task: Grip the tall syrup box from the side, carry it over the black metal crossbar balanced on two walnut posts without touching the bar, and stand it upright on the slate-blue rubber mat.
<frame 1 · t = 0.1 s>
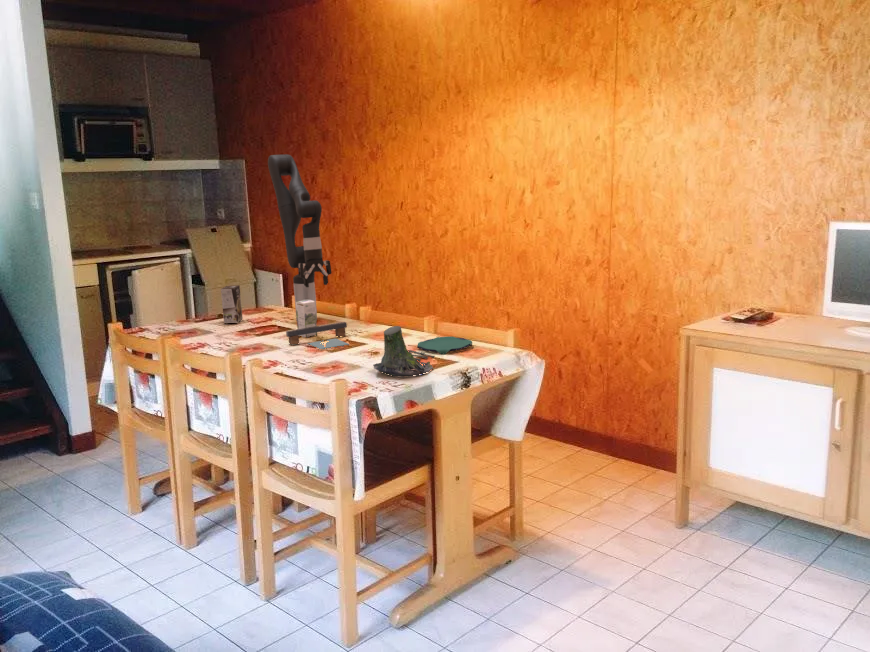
hand: (316, 286, 323), 17 cm above the table, tool pointing down, fingers open, 8 cm apart
slate mat: (328, 344, 291), on the table
teal irregular flat slab: (434, 351, 277), on the table
crossbar: (317, 331, 299), point 3 cm above the table, touching bar stand
tree stump: (404, 371, 251), on the table
bar stand: (317, 340, 300), on the table
coffee box: (233, 322, 341), on the table
syrup box: (307, 336, 308), on the table
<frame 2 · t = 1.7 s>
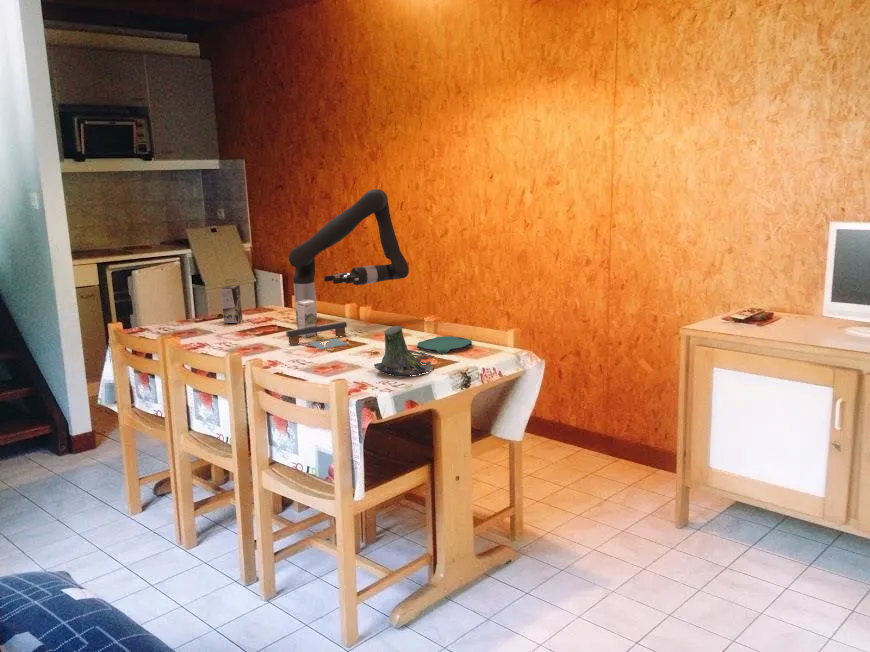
hand: (328, 280, 309), 22 cm above the table, tool horizontal, fingers open, 8 cm apart
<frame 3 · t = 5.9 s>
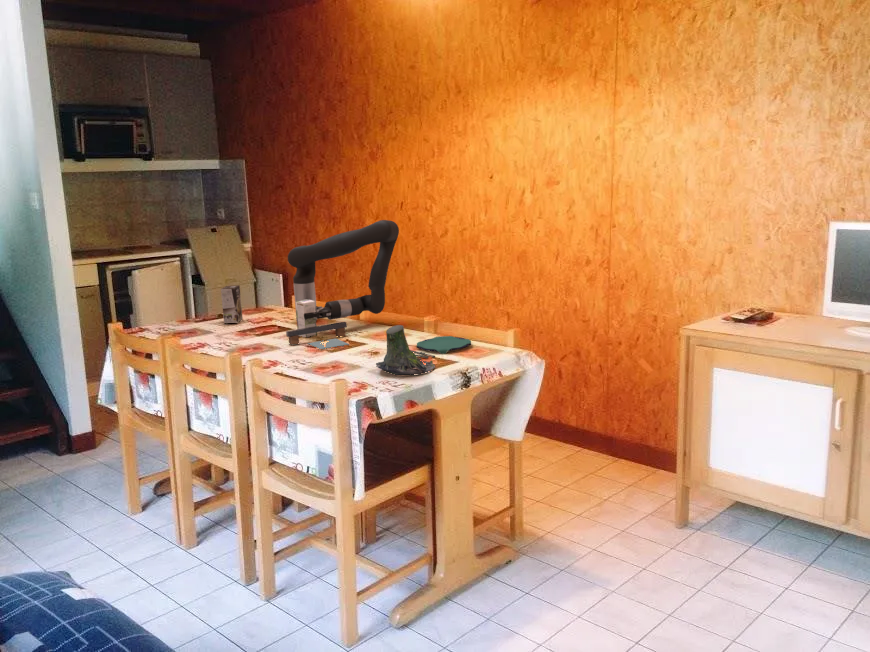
hand: (300, 314, 305), 9 cm above the table, tool horizontal, fingers closed on syrup box, 6 cm apart
tree stump: (406, 370, 253), on the table
syrup box: (307, 336, 308), on the table, touching gripper
everything else where it was.
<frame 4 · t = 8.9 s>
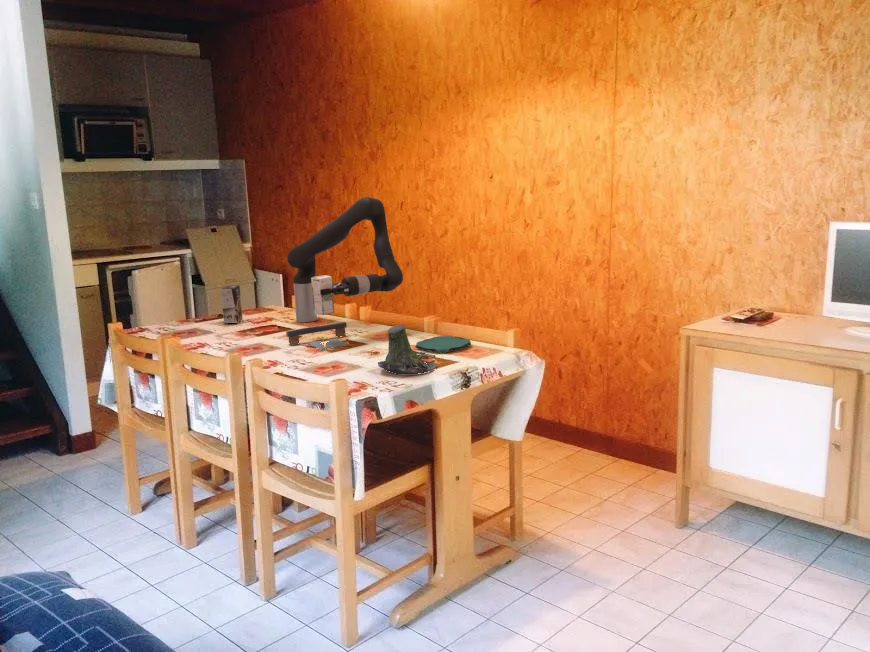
hand: (316, 291, 288), 21 cm above the table, tool horizontal, fingers closed on syrup box, 6 cm apart
syrup box: (324, 314, 292), point 12 cm above the table, touching gripper
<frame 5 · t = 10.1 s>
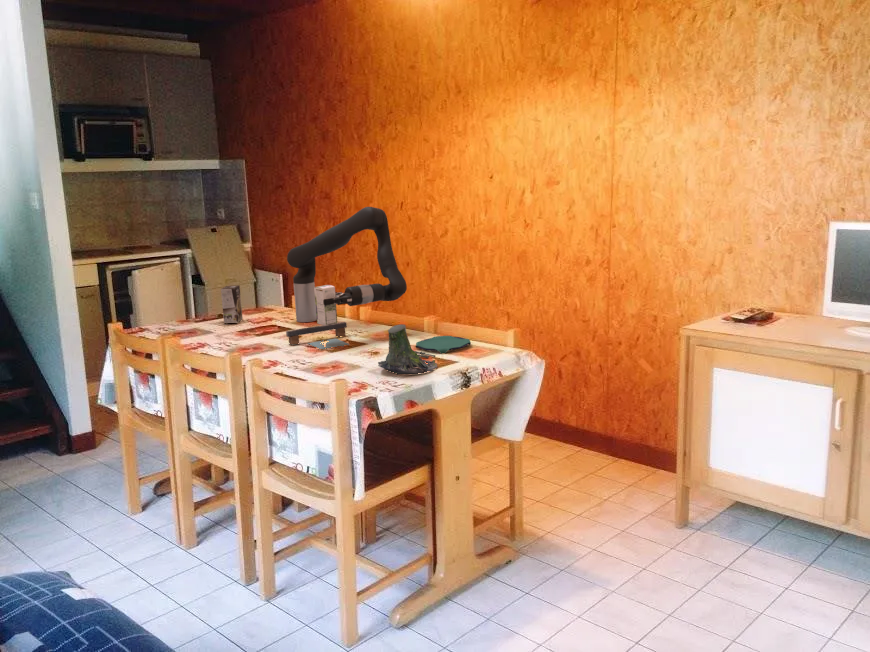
hand: (320, 301, 286), 17 cm above the table, tool horizontal, fingers closed on syrup box, 6 cm apart
syrup box: (327, 324, 290), point 8 cm above the table, touching gripper
when the fingers open (11 cm above the table, at t = 12.2 s): syrup box drops 1 cm, resting on slate mat.
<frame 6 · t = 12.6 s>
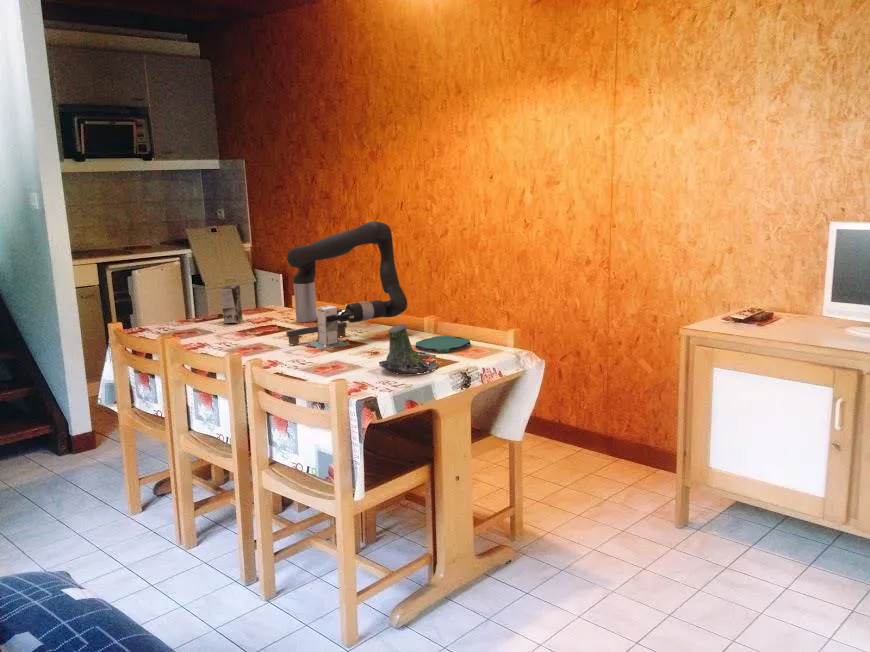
hand: (321, 317, 288), 11 cm above the table, tool horizontal, fingers open, 8 cm apart
syrup box: (328, 344, 291), resting on slate mat
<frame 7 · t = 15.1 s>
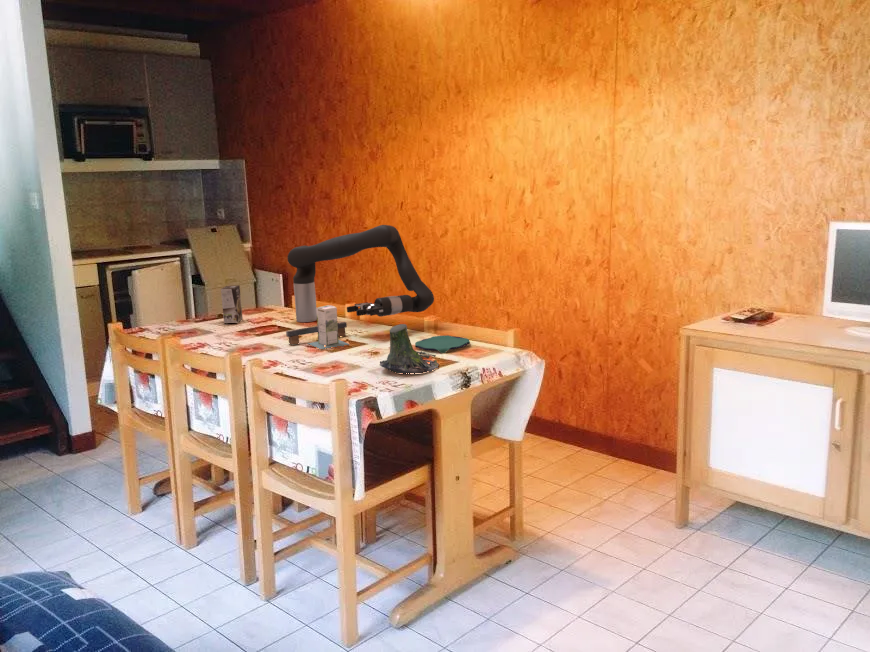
hand: (352, 311, 295), 12 cm above the table, tool horizontal, fingers open, 8 cm apart
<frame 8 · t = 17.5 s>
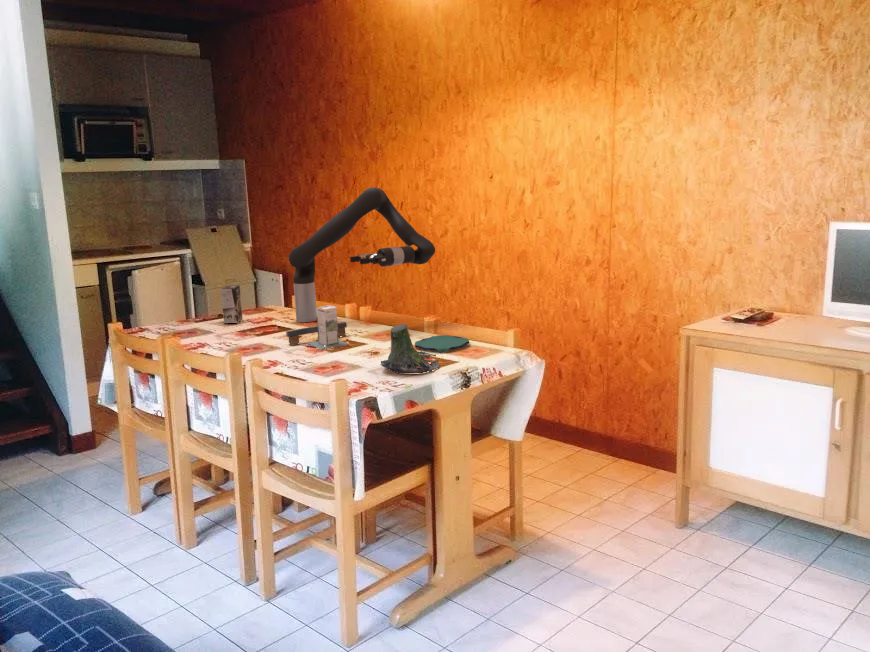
hand: (355, 260, 302), 30 cm above the table, tool horizontal, fingers open, 8 cm apart
at the end: syrup box inside the target area on the slate mat (0.1 cm from its centre), point 0.3 cm above the slate mat's base; syrup box tilted 0°; crossbar moved 0.0 cm from its start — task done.
